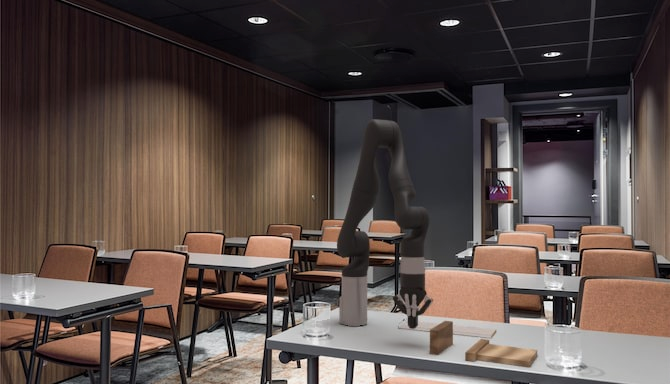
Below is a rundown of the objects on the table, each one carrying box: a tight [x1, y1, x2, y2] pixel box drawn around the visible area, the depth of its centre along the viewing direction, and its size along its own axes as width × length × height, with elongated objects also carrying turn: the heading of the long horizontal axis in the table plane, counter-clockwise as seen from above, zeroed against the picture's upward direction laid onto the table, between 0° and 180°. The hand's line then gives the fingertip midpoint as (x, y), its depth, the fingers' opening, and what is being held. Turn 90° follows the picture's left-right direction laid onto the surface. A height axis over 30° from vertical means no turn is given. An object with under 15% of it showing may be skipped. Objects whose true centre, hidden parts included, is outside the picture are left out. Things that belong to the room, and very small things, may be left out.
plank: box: [429, 320, 454, 356], centre depth 160 cm, size 2×14×7 cm, turn 150°
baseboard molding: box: [397, 318, 497, 340], centre depth 183 cm, size 31×3×12 cm
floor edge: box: [464, 338, 538, 368], centre depth 152 cm, size 16×17×2 cm
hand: (412, 328), depth 165 cm, fingers closed
